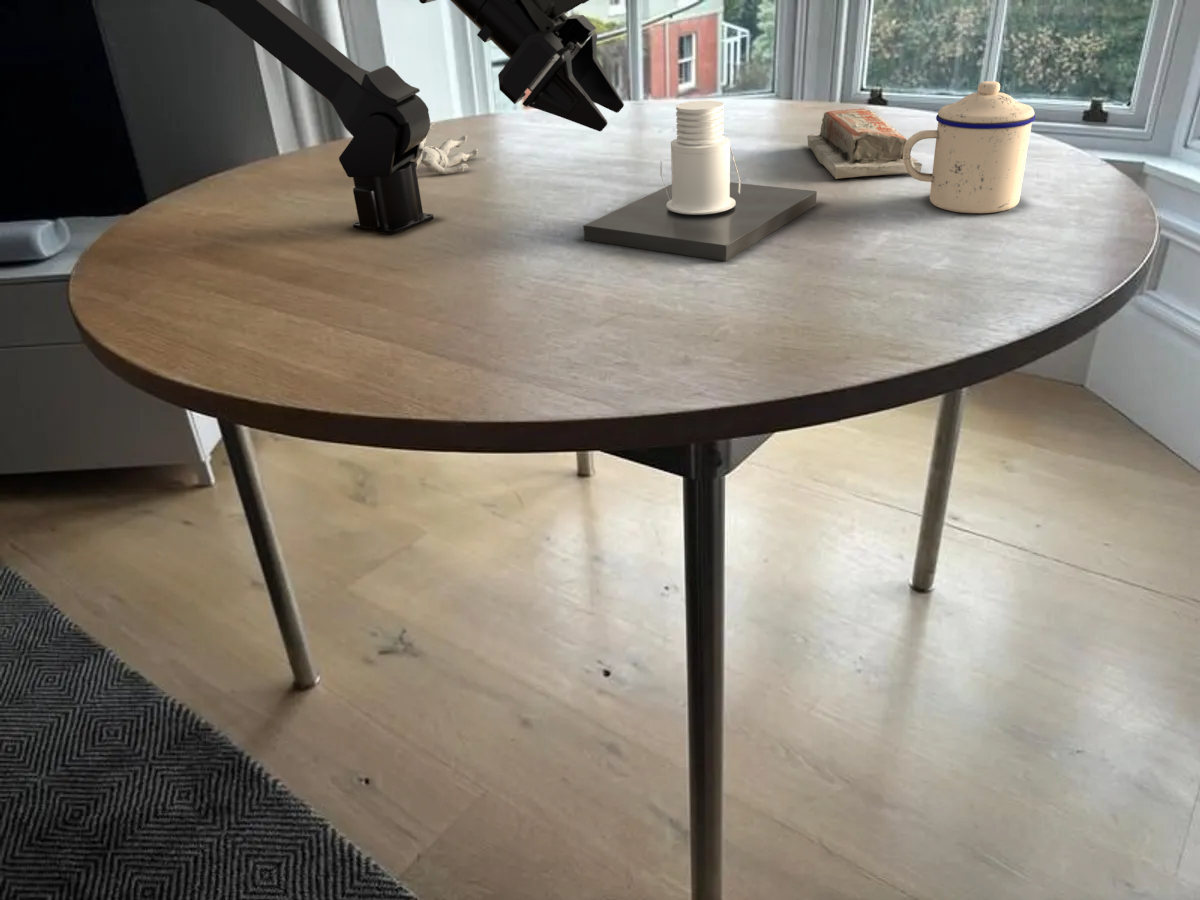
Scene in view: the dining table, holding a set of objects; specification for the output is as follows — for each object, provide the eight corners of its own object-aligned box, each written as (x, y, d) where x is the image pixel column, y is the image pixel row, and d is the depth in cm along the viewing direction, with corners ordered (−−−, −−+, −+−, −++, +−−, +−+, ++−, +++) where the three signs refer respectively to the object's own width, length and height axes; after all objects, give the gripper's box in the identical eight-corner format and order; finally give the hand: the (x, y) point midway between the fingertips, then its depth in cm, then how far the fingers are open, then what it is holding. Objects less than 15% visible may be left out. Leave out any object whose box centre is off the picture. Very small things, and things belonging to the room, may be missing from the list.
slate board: (685, 190, 107) (685, 177, 106) (816, 205, 98) (817, 190, 98) (584, 240, 93) (582, 225, 92) (726, 261, 85) (726, 245, 84)
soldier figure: (493, 167, 127) (450, 159, 116) (469, 192, 129) (426, 186, 118) (458, 124, 128) (413, 112, 117) (435, 150, 130) (388, 140, 119)
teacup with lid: (1009, 189, 99) (1027, 72, 93) (1031, 214, 91) (1052, 88, 85) (892, 192, 101) (903, 78, 95) (904, 217, 93) (916, 94, 87)
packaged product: (806, 108, 119) (885, 103, 119) (805, 147, 122) (881, 142, 121) (836, 137, 104) (926, 131, 103) (834, 181, 106) (922, 176, 106)
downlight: (664, 219, 92) (661, 114, 87) (659, 201, 98) (656, 101, 93) (745, 214, 92) (746, 108, 87) (735, 195, 98) (735, 96, 93)
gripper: (519, -69, 77) (655, 69, 80) (568, -74, 93) (680, 41, 96) (443, 38, 82) (573, 163, 86) (501, 16, 98) (609, 122, 102)
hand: (613, 118), depth 92 cm, fingers open, 9 cm apart
